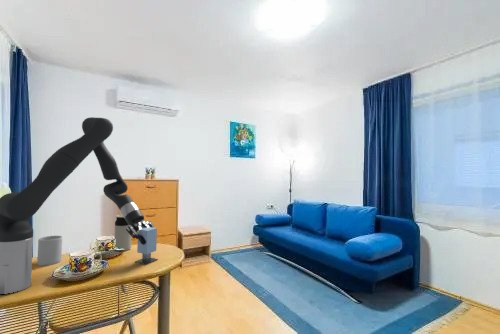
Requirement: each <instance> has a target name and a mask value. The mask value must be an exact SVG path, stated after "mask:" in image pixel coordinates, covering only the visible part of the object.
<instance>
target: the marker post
mask: <svg viewBox="0 0 500 334" xmlns="http://www.w3.org/2000/svg"><path fill="white" fill-rule="evenodd" d="M141 257H142V258H140V259H138V260H135V261H134V263H137V264H141V265H145V266H146V265H150V264H152V263H154V262H157V261H158V260H159V259H158V258H155V257H154V258H153V257H152V253H149V254H143V253H141Z"/></svg>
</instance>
